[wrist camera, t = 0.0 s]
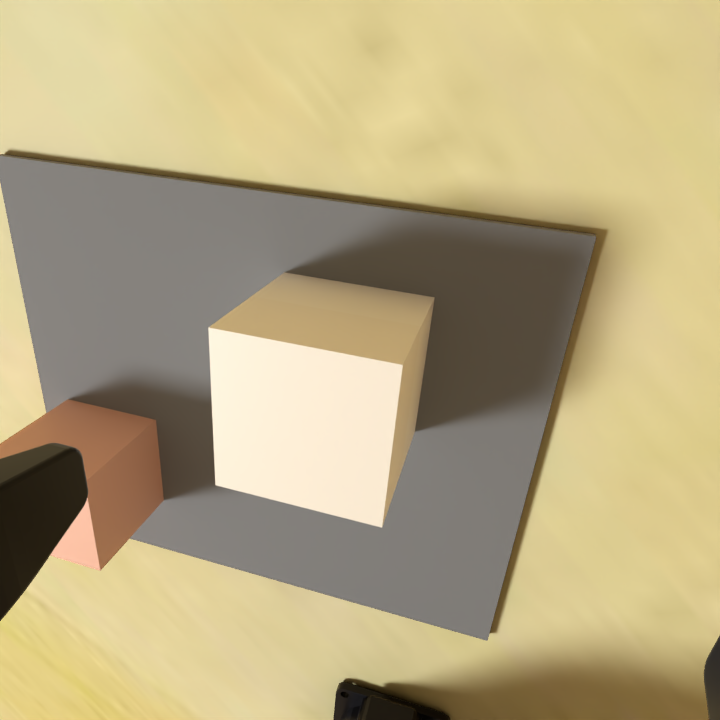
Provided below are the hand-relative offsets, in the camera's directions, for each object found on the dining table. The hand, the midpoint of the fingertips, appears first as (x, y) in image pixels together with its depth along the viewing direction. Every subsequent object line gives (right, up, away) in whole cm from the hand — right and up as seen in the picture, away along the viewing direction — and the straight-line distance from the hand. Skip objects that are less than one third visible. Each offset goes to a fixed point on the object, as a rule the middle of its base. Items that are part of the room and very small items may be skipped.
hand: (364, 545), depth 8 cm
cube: (-13, -2, +21) cm, 25 cm away
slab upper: (-1, +2, +13) cm, 13 cm away
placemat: (-4, 0, +18) cm, 19 cm away
